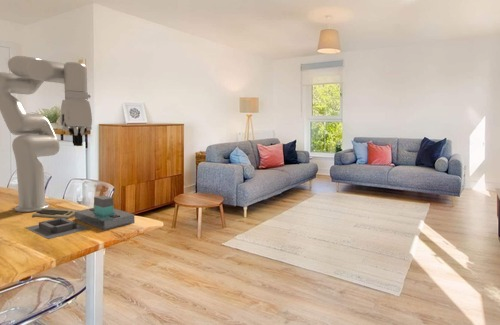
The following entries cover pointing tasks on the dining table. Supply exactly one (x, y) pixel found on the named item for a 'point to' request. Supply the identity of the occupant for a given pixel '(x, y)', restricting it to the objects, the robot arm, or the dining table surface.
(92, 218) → the port block
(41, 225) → the plate
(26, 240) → the dining table surface
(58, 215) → the computer
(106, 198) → the plug
